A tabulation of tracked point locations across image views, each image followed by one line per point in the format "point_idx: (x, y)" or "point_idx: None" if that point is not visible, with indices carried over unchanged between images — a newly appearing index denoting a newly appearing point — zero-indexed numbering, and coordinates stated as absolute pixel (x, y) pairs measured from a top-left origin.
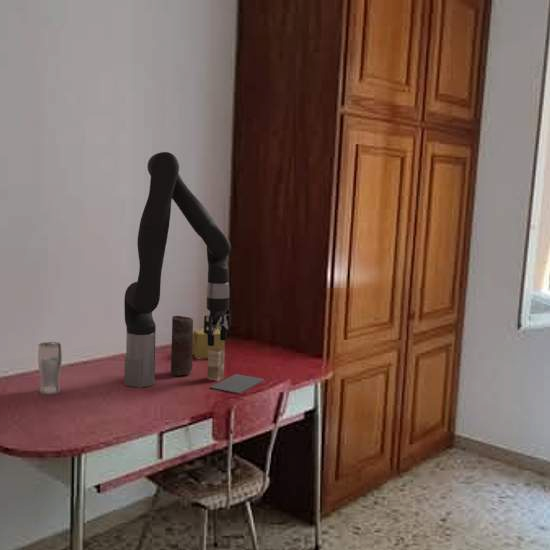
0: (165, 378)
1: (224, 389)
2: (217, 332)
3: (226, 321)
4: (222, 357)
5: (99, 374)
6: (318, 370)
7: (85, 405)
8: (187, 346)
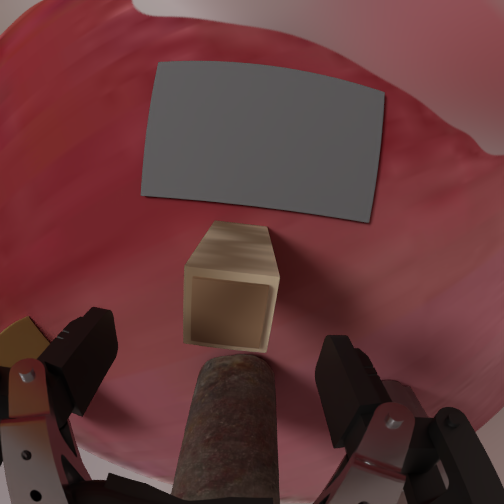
0: (306, 388)
1: (375, 156)
2: None
3: (18, 460)
4: (221, 253)
5: (322, 469)
6: (21, 22)
7: (489, 381)
8: (255, 445)
